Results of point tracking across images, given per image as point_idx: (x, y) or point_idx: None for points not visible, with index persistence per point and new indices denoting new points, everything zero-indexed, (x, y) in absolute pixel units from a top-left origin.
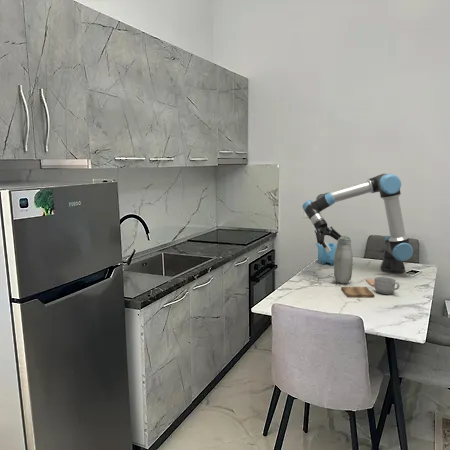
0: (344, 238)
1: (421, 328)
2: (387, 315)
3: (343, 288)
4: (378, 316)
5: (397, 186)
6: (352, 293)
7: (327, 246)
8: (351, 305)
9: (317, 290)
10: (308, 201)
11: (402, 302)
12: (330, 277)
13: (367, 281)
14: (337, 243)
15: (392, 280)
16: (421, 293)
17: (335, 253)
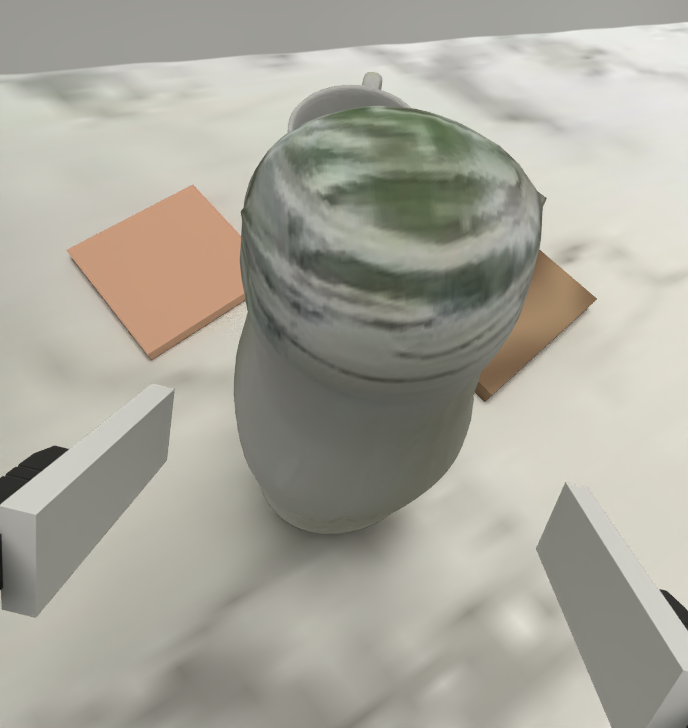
0: (505, 153)
1: (646, 28)
2: (639, 115)
3: (512, 366)
4: (679, 134)
5: None
6: (555, 286)
7: (632, 556)
8: (672, 248)
9: (637, 518)
10: None
11: (439, 109)
12: (225, 649)
13: (189, 331)
14: (453, 395)
15: (303, 117)
16: (234, 78)
17: (452, 456)
